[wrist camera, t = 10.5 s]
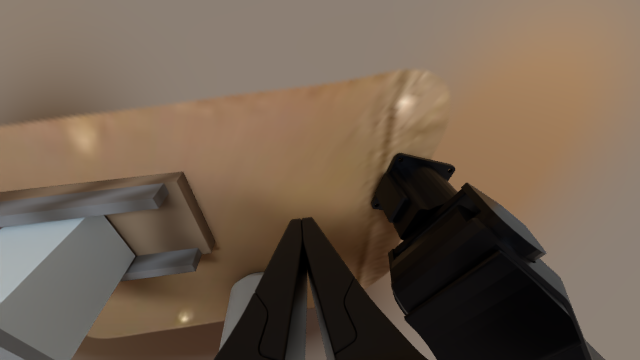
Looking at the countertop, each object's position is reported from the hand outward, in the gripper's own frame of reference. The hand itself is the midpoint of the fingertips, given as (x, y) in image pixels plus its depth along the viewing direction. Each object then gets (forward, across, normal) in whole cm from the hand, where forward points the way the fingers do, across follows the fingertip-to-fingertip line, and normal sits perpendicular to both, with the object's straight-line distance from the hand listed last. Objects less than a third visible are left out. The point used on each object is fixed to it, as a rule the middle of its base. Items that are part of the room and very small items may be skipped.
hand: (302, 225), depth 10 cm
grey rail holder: (+12, +18, +8) cm, 23 cm away
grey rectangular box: (+10, +20, +8) cm, 24 cm away
